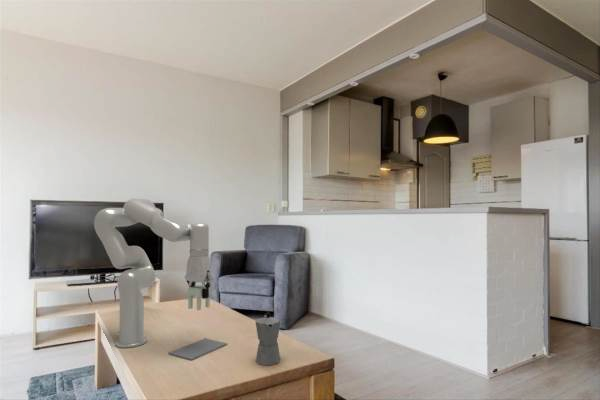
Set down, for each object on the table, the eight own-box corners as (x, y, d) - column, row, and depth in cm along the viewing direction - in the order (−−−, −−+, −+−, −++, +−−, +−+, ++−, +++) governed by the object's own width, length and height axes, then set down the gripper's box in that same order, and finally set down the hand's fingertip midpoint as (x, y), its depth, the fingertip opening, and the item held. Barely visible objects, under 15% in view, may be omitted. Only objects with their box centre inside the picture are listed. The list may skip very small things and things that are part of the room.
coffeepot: (283, 366, 135) (283, 316, 136) (257, 369, 133) (257, 318, 134) (276, 351, 150) (276, 306, 151) (253, 353, 148) (253, 307, 149)
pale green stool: (187, 308, 153) (187, 287, 153) (199, 305, 158) (199, 285, 159) (198, 310, 150) (198, 289, 150) (210, 307, 155) (210, 286, 156)
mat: (168, 354, 148) (168, 352, 148) (205, 339, 165) (205, 338, 165) (191, 360, 142) (191, 359, 142) (227, 344, 159) (227, 343, 159)
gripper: (177, 253, 156) (177, 296, 155) (208, 255, 147) (207, 301, 147) (191, 251, 163) (191, 293, 162) (221, 253, 154) (221, 297, 153)
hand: (199, 296), depth 154 cm, fingers closed on pale green stool, 6 cm apart
